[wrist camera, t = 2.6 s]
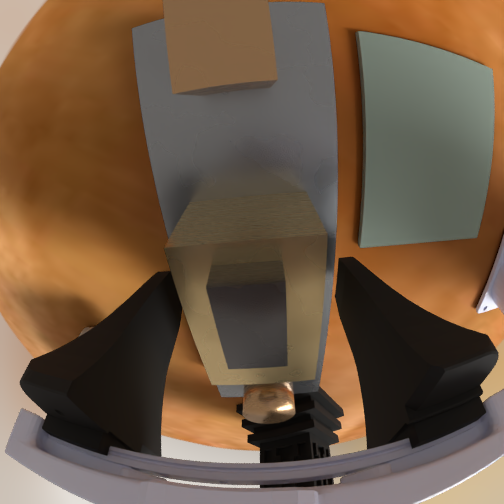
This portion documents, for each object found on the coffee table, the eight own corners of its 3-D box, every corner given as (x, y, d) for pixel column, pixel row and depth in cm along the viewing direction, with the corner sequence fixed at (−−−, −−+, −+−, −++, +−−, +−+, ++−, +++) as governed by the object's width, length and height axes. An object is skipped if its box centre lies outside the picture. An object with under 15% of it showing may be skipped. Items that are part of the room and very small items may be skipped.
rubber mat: (488, 69, 8) (492, 69, 8) (473, 234, 14) (477, 237, 13) (355, 32, 9) (358, 30, 8) (357, 244, 14) (360, 248, 14)
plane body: (154, 39, 9) (82, 8, 4) (311, 20, 8) (354, -34, 3) (223, 370, 20) (217, 438, 15) (313, 364, 20) (324, 433, 15)
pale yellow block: (189, 202, 10) (153, 267, 7) (306, 191, 10) (336, 253, 6) (219, 329, 14) (209, 403, 10) (305, 323, 14) (317, 398, 10)
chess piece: (236, 405, 23) (228, 593, 6) (314, 381, 21) (334, 599, 4) (277, 428, 27) (280, 579, 10) (342, 409, 24) (363, 573, 7)
